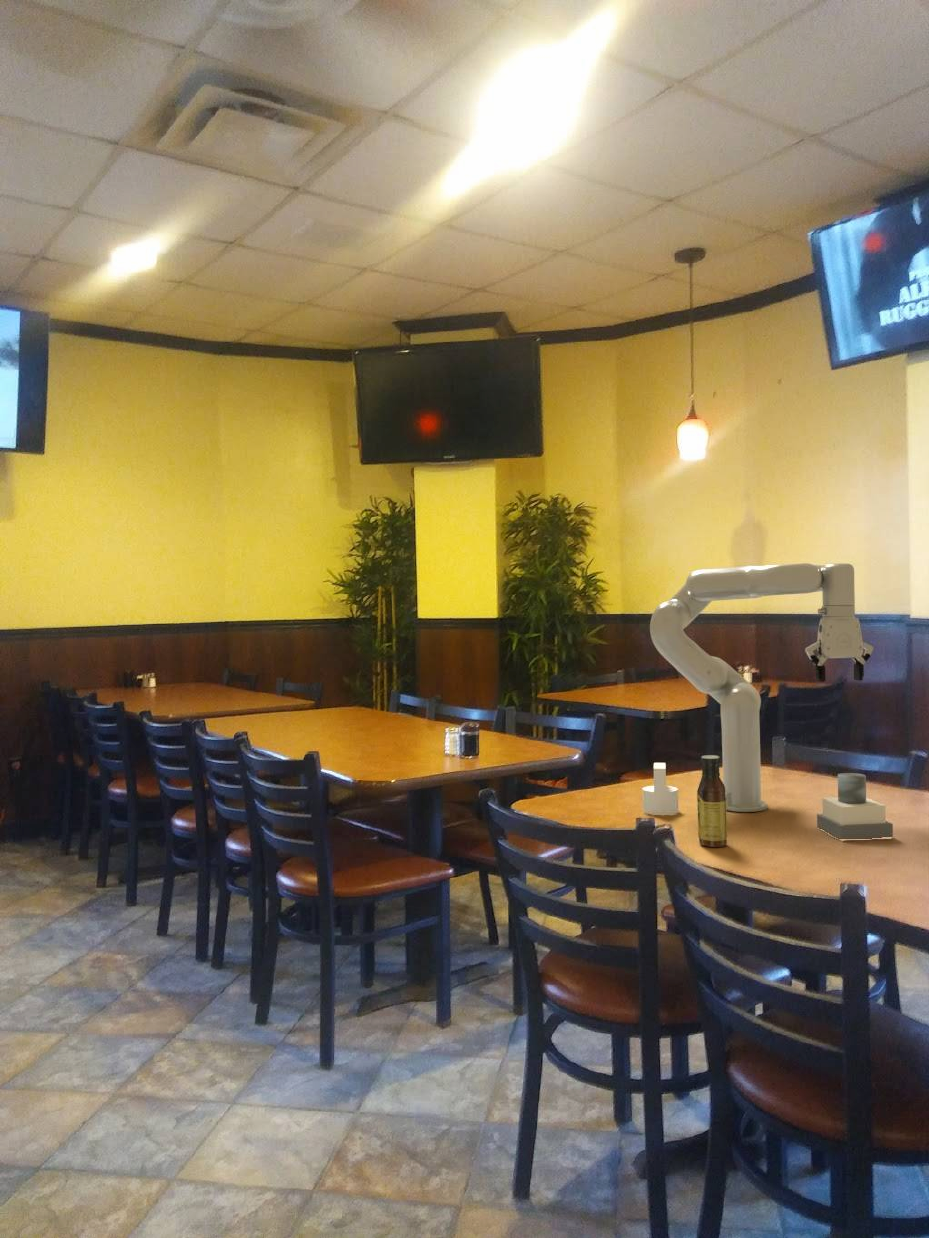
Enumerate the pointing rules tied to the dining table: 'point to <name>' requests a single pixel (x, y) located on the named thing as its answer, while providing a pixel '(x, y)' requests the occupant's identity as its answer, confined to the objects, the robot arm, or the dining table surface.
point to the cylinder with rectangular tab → (660, 794)
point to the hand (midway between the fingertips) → (839, 680)
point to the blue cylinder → (852, 788)
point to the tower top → (854, 812)
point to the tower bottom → (854, 829)
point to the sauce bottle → (711, 804)
